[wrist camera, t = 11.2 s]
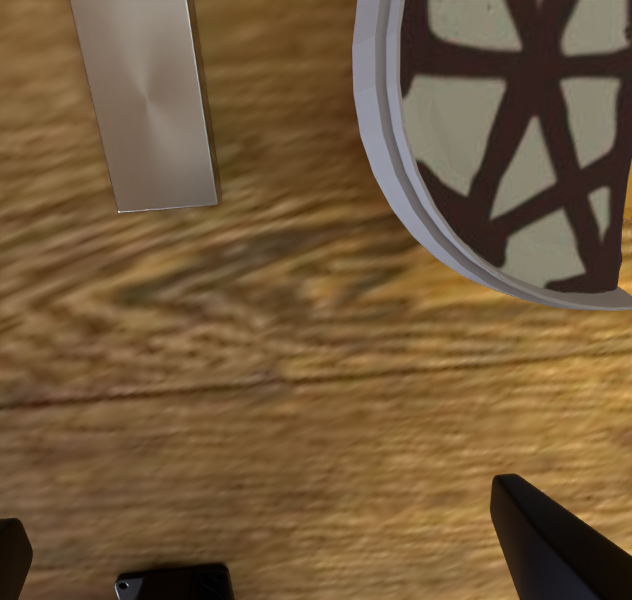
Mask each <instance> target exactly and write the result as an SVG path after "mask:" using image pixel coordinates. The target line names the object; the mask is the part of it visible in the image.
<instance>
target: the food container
mask: <svg viewBox="0 0 632 600" xmlns="http://www.w3.org/2000/svg"><path fill="white" fill-rule="evenodd" d="M352 59H353V94H354V100H355V106H356V112H357V118H358V123H359V129H360V135H361V139H362V142H363V145H364V148H365V151H366V154H367V156H368V159H369V162H370V165H371V168H372V171H373V174H374V176H375V178H376V180H377V182H378V184H379V186H380V188H381V190H382V192H383V194H384V195H385V197H386V199H387V201H388V203H389V205H390V207H391V209H392V210H393V211H394V212H395V214H396V215H397V216H398V218H399V219H400V220H401V222H402V223H403V224H404V226H405V227H406V228H407V230H408V231H409V232H410V233H411V235H412V236H413V237H414V238H415V239H416V240H417V241H418V242H419V243H420V244H421V245H423V246H424V247H425V248H426V249H427V250H428V251H429V252H430V253H431V254H432V255H433V256H434V257H435V258H437V259H438V260H439V261H441V262H442V263H444V264H445V265H447V266H448V267H450V268H451V269H453V270H455V271H456V272H458V273H459V274H461V275H462V276H464V277H465V278H468V279H470V280H472V281H475V282H477V283H479V284H482V285H484V286H486V287H489V288H491V289H493V290H496V291H499V292H502V293H505V294H508V295H511V296H514V297H517V298H520V299H523V300H527V301H531V302H535V303H539V304H543V305H547V306H551V307H555V308H566V309H578V310H590V311H593V310H607V311H618V310H632V296H631V295H630V294H628V293H627V292H625V291H624V290H622V289H621V288H620V287H618V286H617V284H618V277H619V270H620V266H621V263H622V253H621V238H622V223H623V216H624V208H625V200H626V192H627V184H628V178H629V172H630V167H631V161H632V0H357V9H356V18H355V27H354V36H353V44H352Z"/></svg>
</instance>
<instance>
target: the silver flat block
mask: <svg viewBox="0 0 632 600" xmlns="http://www.w3.org/2000/svg"><path fill="white" fill-rule="evenodd" d="M69 1H70V5H71V10H72V14H73V18H74V23H75V27H76V31H77V36H78V40H79V44H80V49H81V53H82V57H83V62H84V66H85V70H86V75H87V79H88V84H89V88H90V92H91V97H92V101H93V105H94V110H95V114H96V118H97V123H98V127H99V131H100V136H101V140H102V144H103V149H104V153H105V157H106V162H107V166H108V170H109V175H110V179H111V183H112V188H113V192H114V197H115V201H116V205H117V210H118V212H119V213H125V212H137V211H150V210H162V209H175V208H187V207H200V206H212V205H218V204H219V203H220V202H221V201H222V193H221V187H220V180H219V173H218V166H217V159H216V152H215V145H214V138H213V132H212V125H211V118H210V111H209V104H208V97H207V90H206V83H205V77H204V70H203V63H202V56H201V49H200V42H199V35H198V28H197V22H196V15H195V8H194V1H193V0H69Z"/></svg>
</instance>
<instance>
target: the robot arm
mask: <svg viewBox="0 0 632 600" xmlns="http://www.w3.org/2000/svg"><path fill="white" fill-rule="evenodd" d="M490 513H491V518H492V522H493V525H494V527H495V530H496V533H497V536H498V539H499V542H500V545H501V548H502V550H503V553H504V556H505V559H506V562H507V565H508V568H509V571H510V573H511V576H512V579H513V582H514V585H515V588H516V591H517V593H518V596H519V599H520V600H632V556H631V555H629V554H628V553H627V552H625V551H624V550H622V549H621V548H620V547H618V546H617V545H615V544H614V543H613V542H611V541H610V540H608V539H607V538H606V537H604V536H603V535H601V534H600V533H599V532H597V531H596V530H594V529H593V528H592V527H590V526H589V525H588V524H586V523H585V522H583V521H582V520H581V519H579V518H578V517H576V516H575V515H574V514H572V513H571V512H569V511H568V510H567V509H565V508H564V507H562V506H561V505H560V504H558V503H557V502H555V501H554V500H553V499H551V498H550V497H548V496H547V495H546V494H544V493H543V492H541V491H540V490H539V489H537V488H536V487H534V486H533V485H532V484H530V483H529V482H527V481H526V480H525V479H523V478H522V477H520V476H519V475H517V474H513V473H512V474H501V475H496V476H494V478H493V481H492V491H491V503H490ZM32 557H33V551H32V547H31V544H30V542H29V539H28V537H27V534H26V532H25V529H24V527H23V525H22V522H21V521H20V520H19V519H17V518H8V519H0V600H18V598H19V595H20V593H21V590H22V587H23V584H24V582H25V579H26V576H27V574H28V571H29V568H30V565H31V562H32ZM115 589H116V592H117V595H118V598H119V600H234V595H233V590H232V585H231V580H230V575H229V570H228V568H227V567H226V566H224V565H211V566H200V567H189V568H178V569H167V570H157V571H146V572H135V573H124V574H120V575H119V576H118V577H117V580H116V582H115Z"/></svg>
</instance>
